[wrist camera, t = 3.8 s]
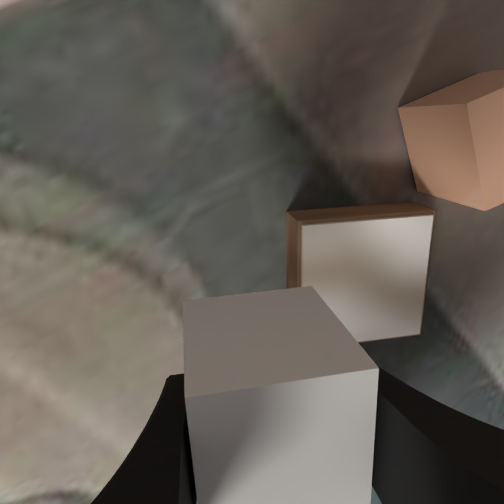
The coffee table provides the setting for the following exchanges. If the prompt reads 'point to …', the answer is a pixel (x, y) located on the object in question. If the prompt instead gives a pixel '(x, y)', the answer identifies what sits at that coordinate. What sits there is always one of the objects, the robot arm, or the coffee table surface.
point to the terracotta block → (459, 141)
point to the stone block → (277, 401)
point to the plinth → (364, 264)
